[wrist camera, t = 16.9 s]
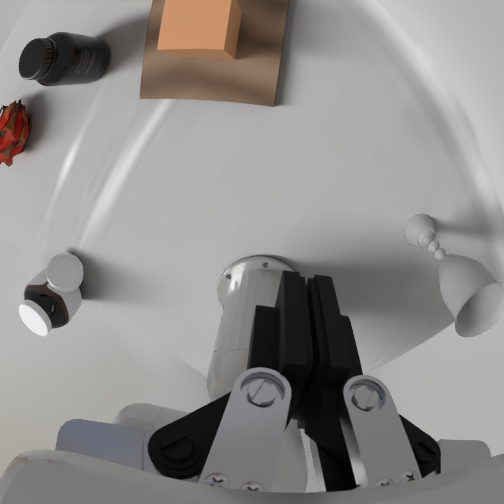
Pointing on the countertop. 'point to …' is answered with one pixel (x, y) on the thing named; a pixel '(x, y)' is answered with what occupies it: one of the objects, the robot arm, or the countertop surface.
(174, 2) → the peach colored cube
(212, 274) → the countertop surface
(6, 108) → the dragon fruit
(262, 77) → the walnut board
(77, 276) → the spread jar
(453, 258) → the chalice
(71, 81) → the supplement bottle
